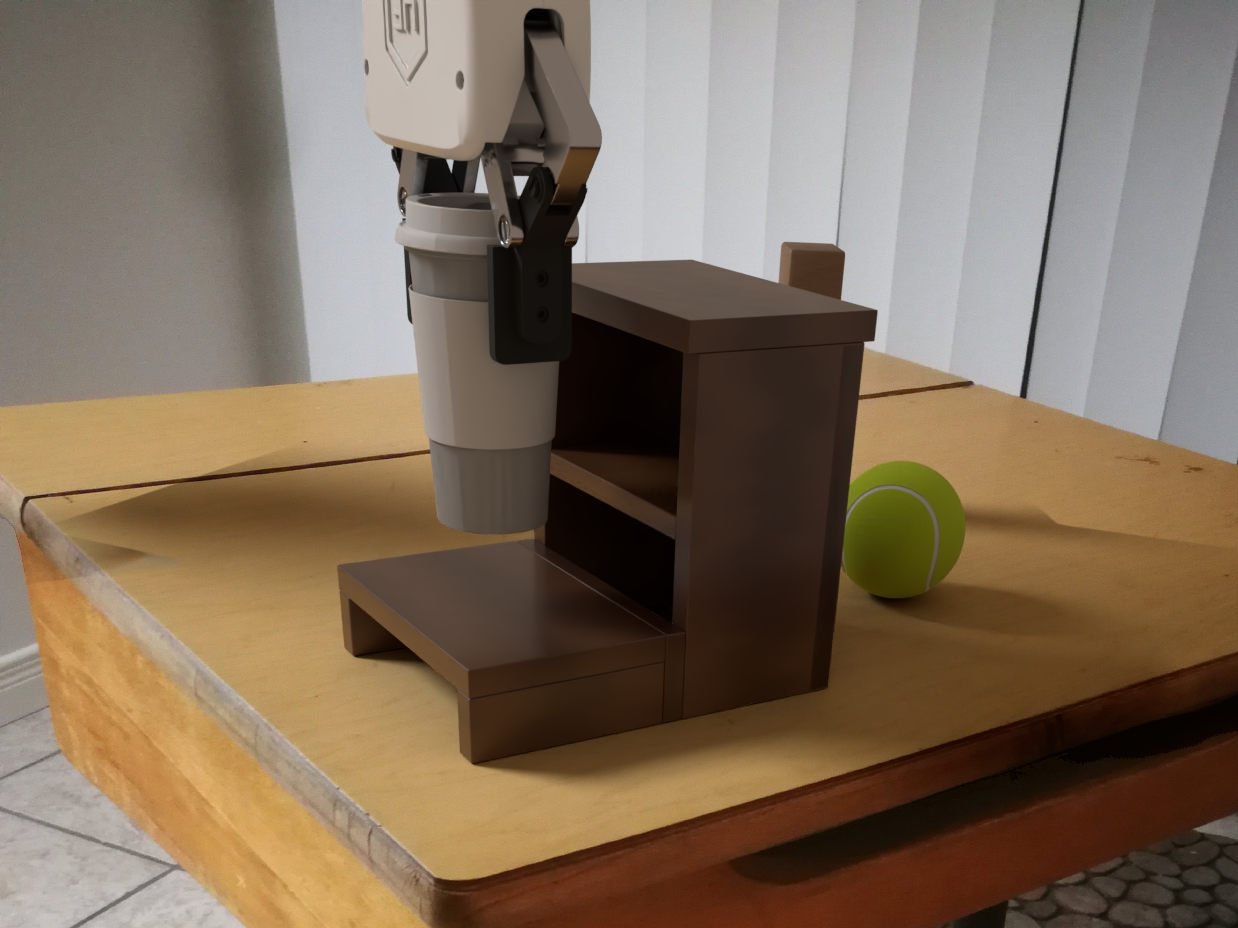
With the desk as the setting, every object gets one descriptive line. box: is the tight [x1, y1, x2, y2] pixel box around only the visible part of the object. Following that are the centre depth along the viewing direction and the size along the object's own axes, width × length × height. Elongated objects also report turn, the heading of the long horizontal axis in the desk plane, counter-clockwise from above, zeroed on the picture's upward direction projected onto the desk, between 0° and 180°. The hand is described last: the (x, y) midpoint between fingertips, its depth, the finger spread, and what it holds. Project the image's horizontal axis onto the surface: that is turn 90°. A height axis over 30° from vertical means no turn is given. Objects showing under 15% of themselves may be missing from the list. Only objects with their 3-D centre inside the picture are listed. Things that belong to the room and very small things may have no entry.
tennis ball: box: [841, 460, 966, 599], centre depth 76 cm, size 7×7×7 cm
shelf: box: [336, 259, 879, 764], centre depth 62 cm, size 18×14×16 cm
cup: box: [394, 192, 574, 536], centre depth 57 cm, size 7×7×12 cm
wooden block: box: [777, 241, 846, 300], centre depth 89 cm, size 7×3×15 cm, turn 7°
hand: (486, 338), depth 57 cm, fingers closed on cup, 6 cm apart
